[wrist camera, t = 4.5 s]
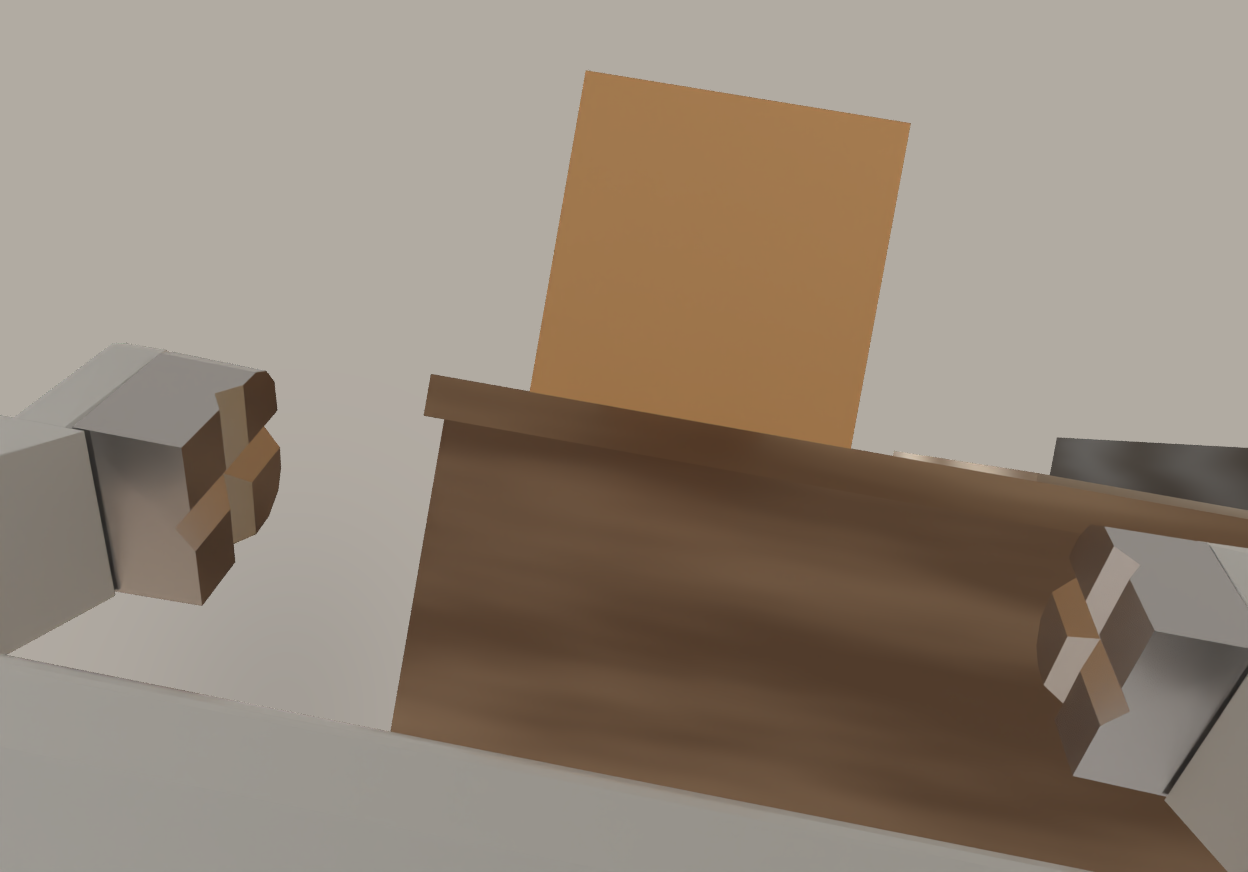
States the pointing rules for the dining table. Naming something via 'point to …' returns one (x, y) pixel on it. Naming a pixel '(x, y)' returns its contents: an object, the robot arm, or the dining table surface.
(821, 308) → the orange block
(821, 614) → the walnut stand
